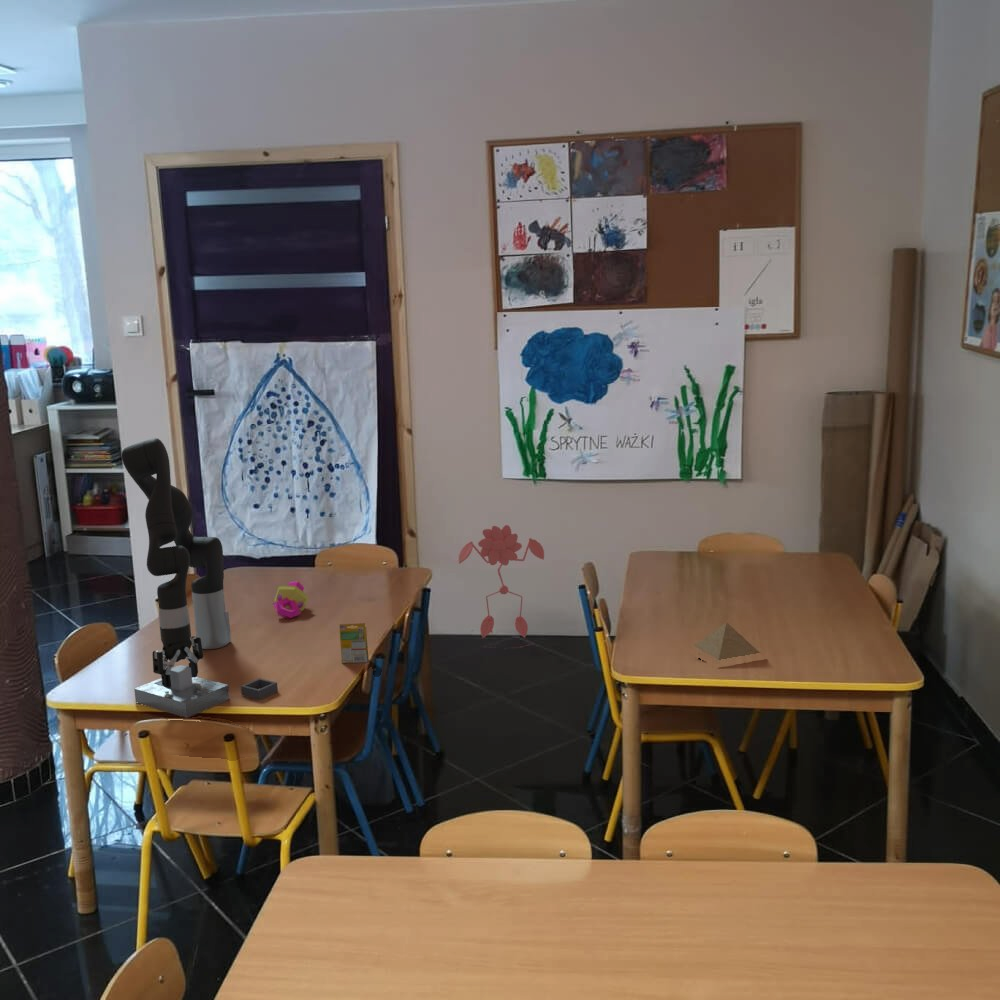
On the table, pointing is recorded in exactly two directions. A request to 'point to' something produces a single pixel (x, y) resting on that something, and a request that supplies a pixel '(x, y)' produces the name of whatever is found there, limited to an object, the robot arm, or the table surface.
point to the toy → (290, 600)
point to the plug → (180, 678)
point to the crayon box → (353, 643)
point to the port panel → (182, 696)
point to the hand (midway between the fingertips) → (180, 682)
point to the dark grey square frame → (255, 692)
